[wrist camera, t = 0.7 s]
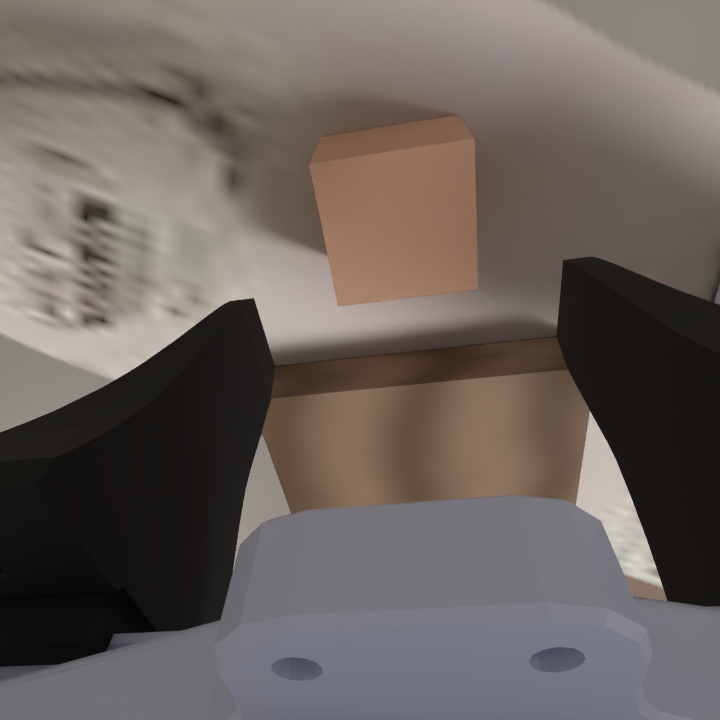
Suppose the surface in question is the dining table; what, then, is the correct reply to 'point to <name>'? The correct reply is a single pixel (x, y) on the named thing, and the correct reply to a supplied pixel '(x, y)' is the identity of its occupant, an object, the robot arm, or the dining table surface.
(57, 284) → the dining table surface
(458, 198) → the terracotta block
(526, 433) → the walnut base
